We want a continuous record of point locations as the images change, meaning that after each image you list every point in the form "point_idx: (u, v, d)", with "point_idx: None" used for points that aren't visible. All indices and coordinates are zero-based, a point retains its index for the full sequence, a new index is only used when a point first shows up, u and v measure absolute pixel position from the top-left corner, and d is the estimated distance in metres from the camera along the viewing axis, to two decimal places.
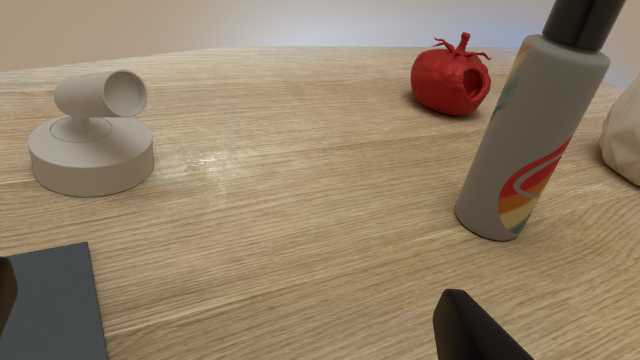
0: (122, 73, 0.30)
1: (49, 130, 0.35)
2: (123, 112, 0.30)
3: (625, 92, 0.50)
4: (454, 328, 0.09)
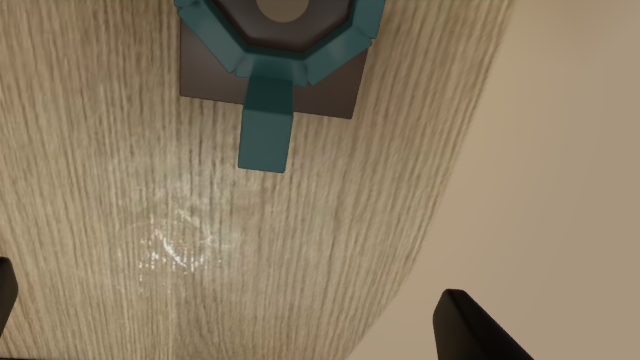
0: None
1: None
2: None
3: None
4: (454, 328, 0.09)
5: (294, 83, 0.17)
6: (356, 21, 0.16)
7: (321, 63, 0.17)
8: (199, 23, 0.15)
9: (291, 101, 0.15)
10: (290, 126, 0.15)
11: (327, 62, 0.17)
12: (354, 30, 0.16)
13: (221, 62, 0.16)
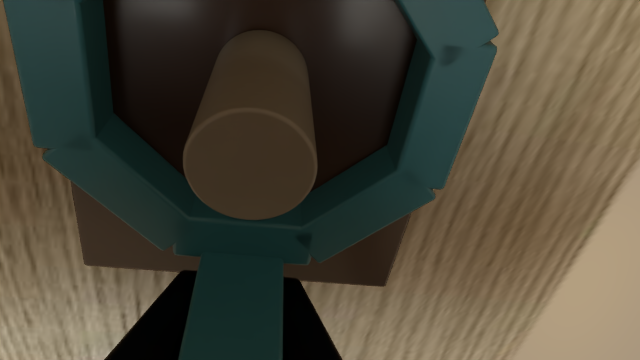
0: None
1: None
2: None
3: None
4: None
5: (286, 261, 0.09)
6: (407, 163, 0.08)
7: (337, 231, 0.09)
8: (91, 175, 0.08)
9: (278, 339, 0.07)
10: None
11: (348, 228, 0.09)
12: (402, 178, 0.08)
13: (144, 234, 0.08)
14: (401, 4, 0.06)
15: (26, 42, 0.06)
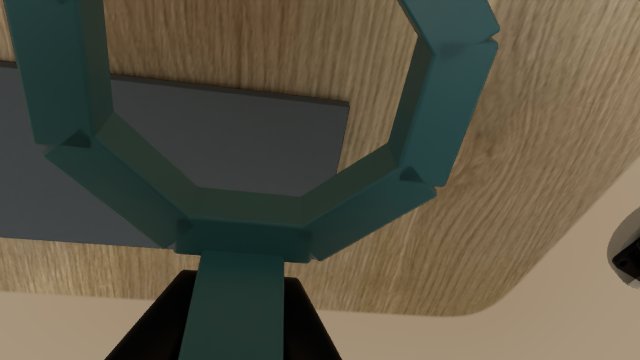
0: None
1: None
2: None
3: None
4: None
5: (287, 259, 0.09)
6: (408, 161, 0.08)
7: (338, 229, 0.09)
8: (91, 173, 0.08)
9: (279, 337, 0.07)
10: None
11: (349, 226, 0.09)
12: (403, 175, 0.08)
13: (145, 233, 0.08)
14: (402, 0, 0.06)
15: (26, 39, 0.06)
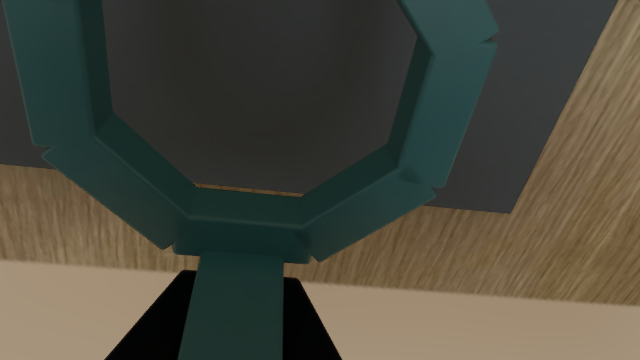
0: None
1: None
2: None
3: None
4: None
5: (286, 260, 0.09)
6: (407, 161, 0.08)
7: (337, 230, 0.09)
8: (90, 174, 0.08)
9: (278, 338, 0.07)
10: None
11: (348, 227, 0.09)
12: (402, 176, 0.08)
13: (144, 233, 0.08)
14: (401, 1, 0.06)
15: (24, 40, 0.06)
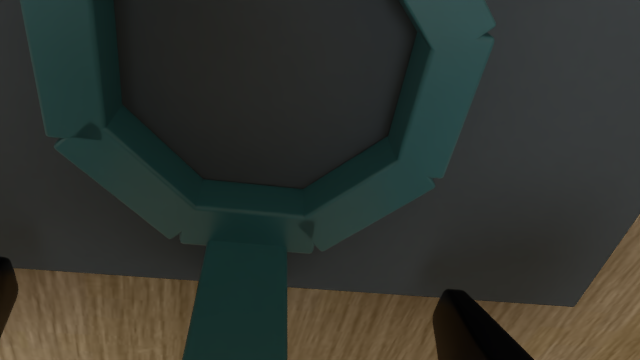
0: None
1: None
2: None
3: None
4: (454, 328, 0.09)
5: (290, 249, 0.09)
6: (408, 152, 0.08)
7: (340, 220, 0.09)
8: (101, 164, 0.08)
9: (283, 322, 0.08)
10: None
11: (350, 217, 0.09)
12: (403, 167, 0.08)
13: (152, 223, 0.09)
14: None
15: (40, 34, 0.07)
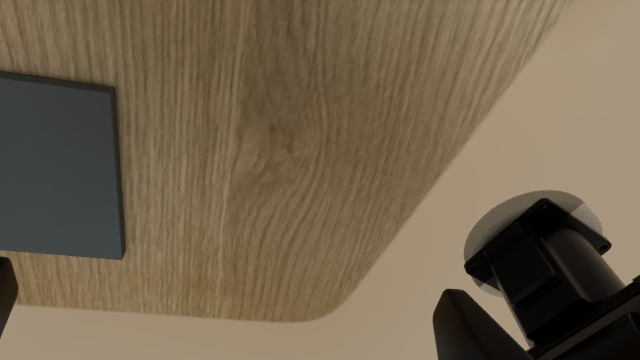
0: None
1: None
2: None
3: None
4: (454, 328, 0.09)
5: None
6: None
7: None
8: None
9: None
10: None
11: None
12: None
13: None
14: None
15: None
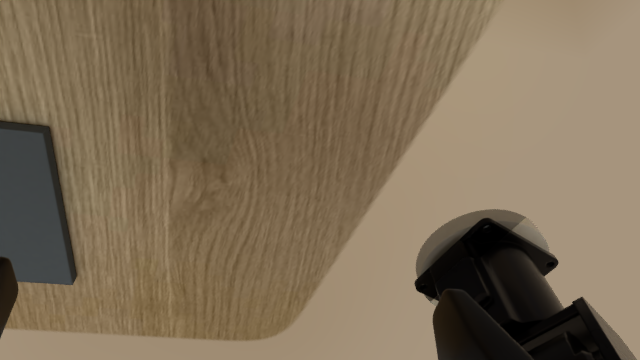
0: None
1: None
2: None
3: None
4: (454, 328, 0.09)
5: None
6: None
7: None
8: None
9: None
10: None
11: None
12: None
13: None
14: None
15: None
